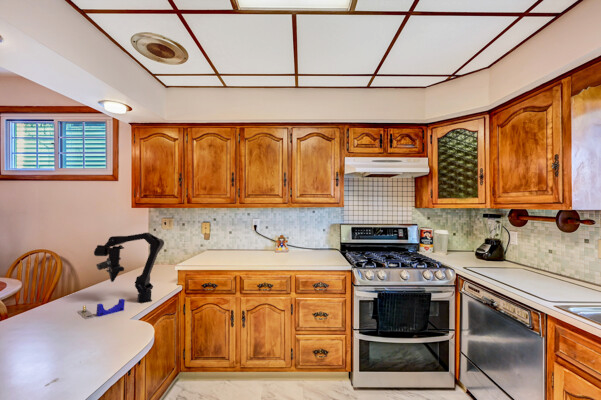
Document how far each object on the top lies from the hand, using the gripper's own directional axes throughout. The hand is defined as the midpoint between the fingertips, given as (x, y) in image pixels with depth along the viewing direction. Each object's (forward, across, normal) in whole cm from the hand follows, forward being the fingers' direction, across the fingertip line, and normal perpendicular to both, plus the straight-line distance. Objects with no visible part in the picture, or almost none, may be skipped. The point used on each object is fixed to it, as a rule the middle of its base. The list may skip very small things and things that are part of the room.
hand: (112, 281), depth 162 cm
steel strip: (+12, +16, -16) cm, 25 cm away
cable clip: (+12, +22, -6) cm, 26 cm away
